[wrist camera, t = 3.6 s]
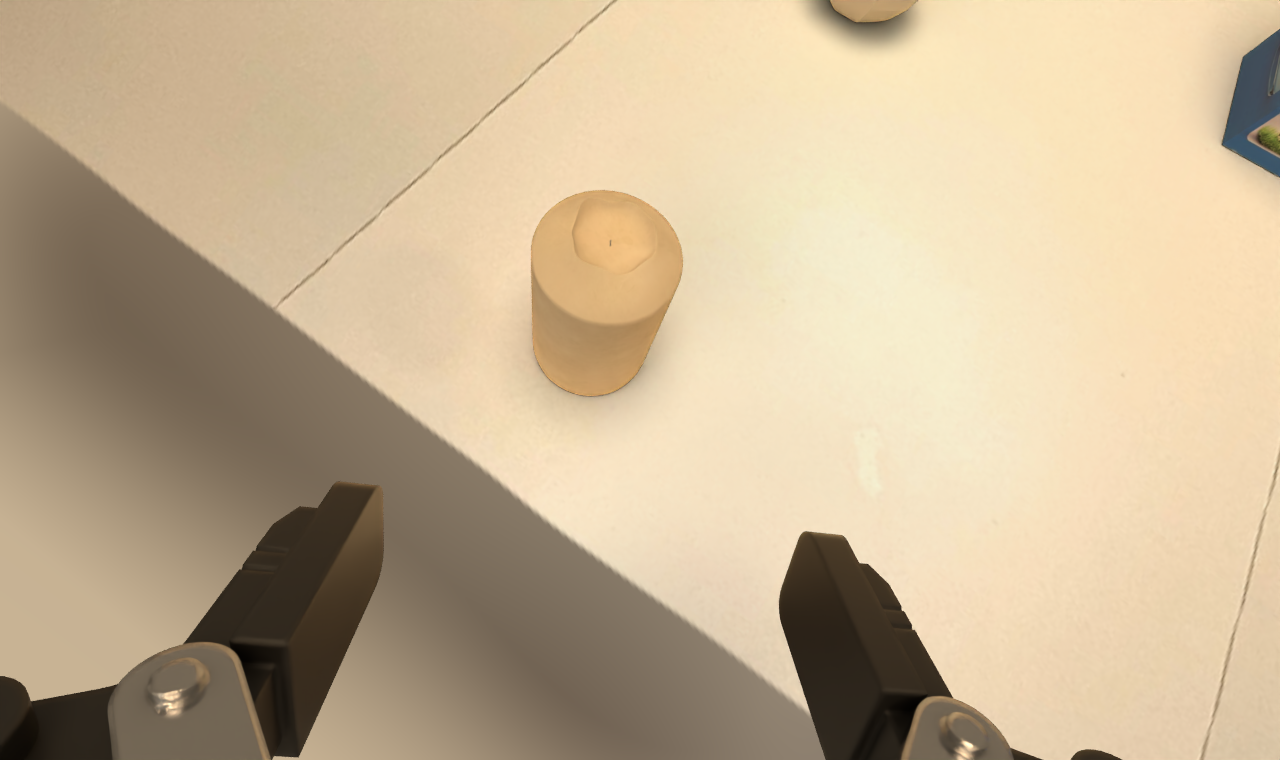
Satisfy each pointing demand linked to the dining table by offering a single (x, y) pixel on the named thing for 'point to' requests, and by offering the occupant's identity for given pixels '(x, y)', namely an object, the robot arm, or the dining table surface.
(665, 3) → the dining table surface
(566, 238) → the candle
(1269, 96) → the milk carton
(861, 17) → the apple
